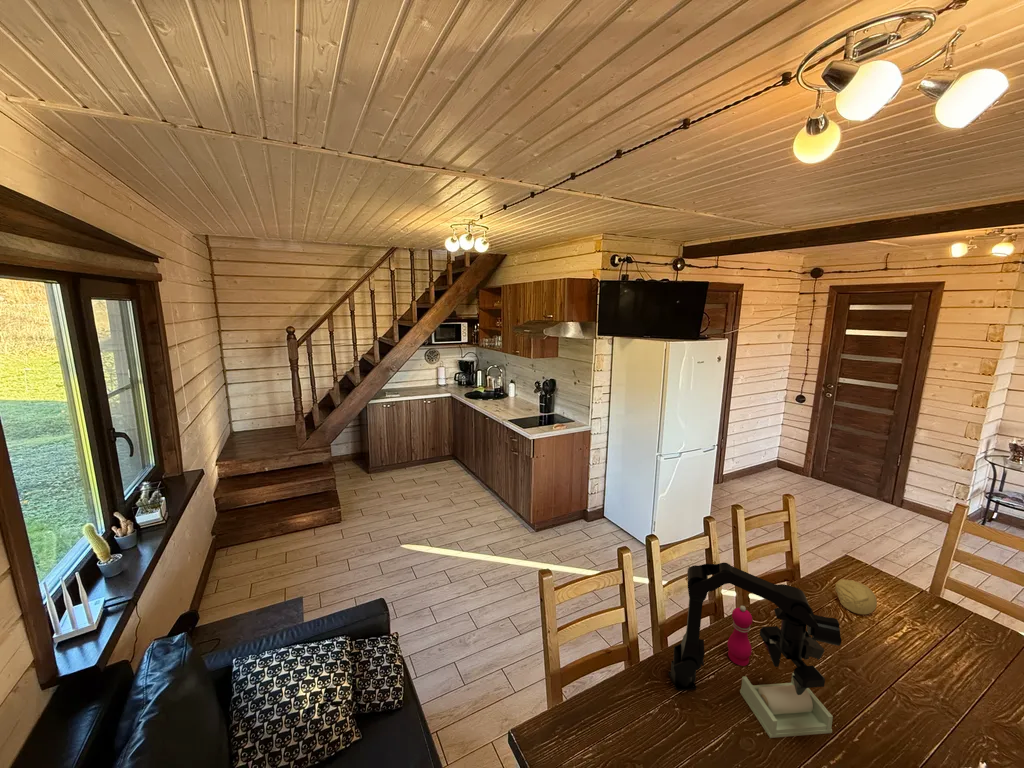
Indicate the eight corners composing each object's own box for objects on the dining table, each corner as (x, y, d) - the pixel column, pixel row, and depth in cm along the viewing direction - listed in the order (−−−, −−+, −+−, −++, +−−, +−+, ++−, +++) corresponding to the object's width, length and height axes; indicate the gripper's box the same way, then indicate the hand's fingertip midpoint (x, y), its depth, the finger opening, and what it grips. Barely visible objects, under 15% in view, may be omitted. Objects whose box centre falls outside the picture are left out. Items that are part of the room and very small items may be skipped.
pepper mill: (753, 668, 136) (759, 615, 133) (730, 665, 138) (734, 612, 134) (746, 651, 143) (751, 600, 140) (723, 648, 145) (728, 597, 141)
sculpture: (828, 599, 168) (831, 575, 166) (855, 596, 169) (858, 572, 167) (854, 620, 156) (857, 595, 154) (882, 617, 158) (886, 592, 156)
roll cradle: (770, 737, 115) (771, 721, 114) (739, 691, 128) (741, 676, 127) (831, 732, 116) (834, 716, 115) (795, 687, 129) (797, 672, 128)
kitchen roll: (796, 696, 125) (798, 678, 124) (812, 717, 119) (815, 698, 118) (755, 699, 125) (757, 681, 124) (770, 720, 118) (772, 702, 117)
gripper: (847, 658, 109) (840, 708, 111) (795, 607, 127) (790, 651, 130) (807, 661, 108) (800, 711, 111) (760, 610, 126) (756, 654, 129)
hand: (787, 679), depth 120 cm, fingers open, 9 cm apart
